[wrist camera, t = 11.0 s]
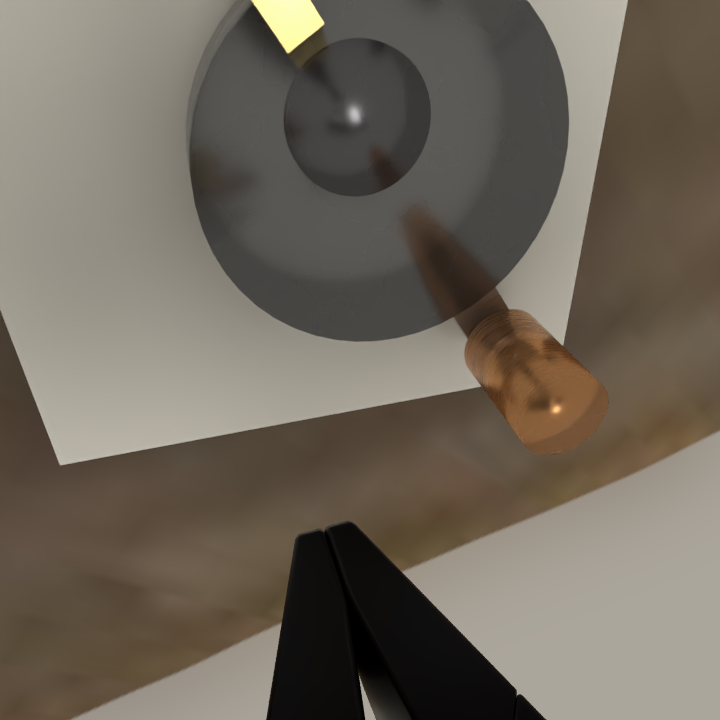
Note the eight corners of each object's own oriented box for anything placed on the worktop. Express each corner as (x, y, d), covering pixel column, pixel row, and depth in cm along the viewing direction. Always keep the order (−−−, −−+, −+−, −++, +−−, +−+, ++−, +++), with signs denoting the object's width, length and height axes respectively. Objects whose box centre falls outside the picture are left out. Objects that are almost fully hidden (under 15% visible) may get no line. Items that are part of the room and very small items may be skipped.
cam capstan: (-35, -33, 12) (-138, -17, 8) (332, -370, 11) (450, -568, 7) (379, 415, 21) (439, 539, 17) (606, 253, 20) (732, 341, 16)
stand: (-319, -597, 9) (-442, -736, 7) (679, -471, 13) (772, -543, 11) (64, 440, 20) (55, 493, 19) (541, 354, 24) (575, 391, 22)
